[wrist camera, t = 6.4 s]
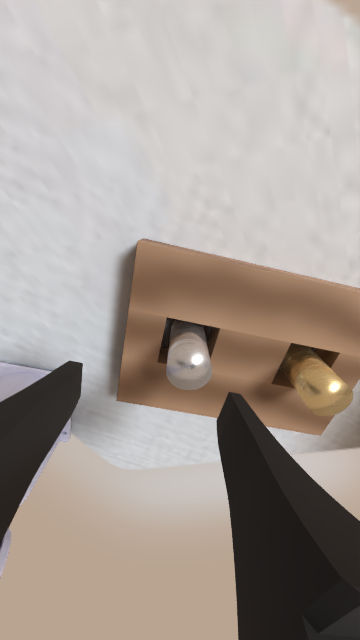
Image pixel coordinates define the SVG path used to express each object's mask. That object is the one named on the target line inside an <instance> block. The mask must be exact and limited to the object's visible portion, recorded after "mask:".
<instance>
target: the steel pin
mask: <svg viewBox="0 0 360 640" xmlns="http://www.w3.org/2000/svg"><path fill="white" fill-rule="evenodd" d="M166 374H167V378H168V380H169V381H170V382H171V383H172V384H173V385H174V386H175V387H177V388H179V389H183V390H196V389H199V388H201V387H203V386H204V385H206V384H207V383H208V382H209V380H210V378H211V376H212V366H211V361H210V356H209V351H208V346H207V341H206V336H205V332H204V327H203V325H202V324H197V323H193V322H188V321H183V320H178V319H176V320H175V321H174V323H173V324H172V326H171V332H170V342H169V351H168V360H167V369H166Z"/></svg>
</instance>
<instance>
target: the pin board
mask: <svg viewBox="0 0 360 640" xmlns="http://www.w3.org/2000/svg"><path fill="white" fill-rule="evenodd" d="M167 317H168V318H173V319H178V320H183V321H188V322H193V323H197V324H202V325H207V326H212V330H211V333H210V337H209V340H208V343H207V346H208V351H209V356H210V361H211V366H212V376H211V378H210V380H209V382H208V383H207V384H206V385H204V386H203V387H201V388H199V389H196V390H183V389H179V388H177V387H175V386H174V385H173V384H172V383H171V382H170V381H169V380H168V378H167V374H166V369H167V360H168V351H169V349H168V348H163V347H161V343H162V338H163V333H164V329H165V324H166V319H167ZM291 343H295V344H300V345H305V346H310V347H314V348H316V350H315V353H316V354H317V355H318V356H319V357H320V358H321V359H322V360H323V361H324V362H325V363H326V364H327V365H328V366H329V367H330V368H331V369H332V370H333V371H334V372H335V373H336V374H337V375H338V376H339V377H340V378H341V379H342V380H343V381H344V382H345V383H346V384H347V385H348V386H349V387H350V388H351V389H353V388H354V386H355V385H356V383H357V382H358V381H359V379H360V289H359V288H355V287H351V286H346V285H342V284H338V283H333V282H329V281H325V280H321V279H316V278H312V277H308V276H303V275H299V274H295V273H290V272H286V271H282V270H277V269H273V268H269V267H264V266H260V265H256V264H252V263H247V262H243V261H239V260H234V259H230V258H226V257H221V256H217V255H213V254H208V253H204V252H200V251H195V250H191V249H187V248H182V247H178V246H174V245H170V244H165V243H161V242H157V241H152V240H148V239H142V240H139V241H138V243H137V250H136V258H135V265H134V273H133V280H132V288H131V295H130V303H129V310H128V318H127V325H126V333H125V340H124V348H123V355H122V363H121V370H120V378H119V385H118V393H117V400H116V401H122V402H127V403H133V404H139V405H145V406H151V407H157V408H162V409H168V410H174V411H180V412H186V413H191V414H197V415H203V416H209V417H215V418H218V416H219V414H220V412H221V409H222V407H223V404H224V402H225V400H226V397H227V395H228V393H229V392H233V393H238V394H241V395H242V396H243V398H244V399H245V400H246V401H247V403H248V404H249V405H250V407H251V408H252V409H253V411H254V412H255V413H256V415H257V416H258V417H259V419H260V420H261V421H262V423H263V424H264V425H265V426H267V427H273V428H279V429H285V430H290V431H296V432H302V433H308V434H314V435H320V436H321V434H322V433H323V431H324V430H325V428H326V427H327V425H328V424H329V423H330V421H331V420H332V418H333V417H334V415H335V414H334V415H330V416H319V415H316V414H314V413H312V412H311V411H310V410H309V408H308V407H307V405H306V404H305V402H304V401H303V399H302V398H301V396H300V395H299V393H298V392H297V390H296V389H295V387H294V386H293V385H292V383H291V382H290V380H289V379H288V377H287V376H286V374H285V373H284V371H281V370H278V369H279V367H280V365H281V363H282V361H283V359H284V357H285V355H286V353H287V350H288V348H289V346H290V344H291Z"/></svg>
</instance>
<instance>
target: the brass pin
mask: <svg viewBox="0 0 360 640" xmlns="http://www.w3.org/2000/svg"><path fill="white" fill-rule="evenodd" d="M280 367H281V368H282V370H283V371H284V373H285V374H286V376H287V377H288V379H289V380H290V382H291V383H292V385H293V386H294V387H295V389H296V390H297V392H298V393H299V395H300V396H301V398H302V399H303V401H304V402H305V404H306V405H307V407H308V408H309V410H310V411H311V412H312V413H314V414H316V415H319V416H330V415H334V414H337V413H339V412H341V411H343V410H344V409H345V408H347V407H348V406H349V404H350V403H351V401H352V399H353V392H352V389H351V388H350V387H349V386H348V385H347V384H346V383H345V382H344V381H343V380H342V379H341V378H340V377H339V376H338V375H337V374H336V373H335V372H334V371H333V370H332V369H331V368H330V367H329V366H328V365H327V364H326V363H325V362H324V361H323V360H322V359H321V358H320V357H319V356H318V355H317V354H316V353H315V352H314V351H313V350H312V349H311V348H310V347H308V346H305V345H300V344H295V343H291V344H290V346H289V348H288V350H287V353H286V355H285V357H284V359H283V361H282V363H281V365H280Z"/></svg>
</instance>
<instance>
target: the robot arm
mask: <svg viewBox="0 0 360 640" xmlns="http://www.w3.org/2000/svg"><path fill="white" fill-rule="evenodd" d="M82 366H83V363H79V362H74V361H68V362H67V363H65V364H63V365H62V366H60V367H59V368H57V369H55V370H54V371H47V370H41V369H36V368H30V367H25V366H19V365H13V364H8V363H2V362H0V577H1V575H2V572H3V570H4V567H5V565H6V561H7V558H8V553H9V547H10V543H11V531H10V530H9V526H10V524H11V522H12V519H13V518H14V515H15V513H16V511H17V509H18V507H19V506H20V505H21V504H22V503H23V502H24V501H25V500H26V498H27V497H28V495H29V494H30V492H31V490H32V489H33V487H34V485H35V483H36V481H37V480H38V478H39V476H40V474H41V473H42V471H43V469H44V467H45V465H46V464H47V462H48V460H49V458H50V457H51V455H52V453H53V451H54V449H55V448H56V446H57V444H58V442H59V441H63V442H67V441H69V439H70V436H71V415H72V413H73V411H74V409H75V407H76V405H77V403H78V400H79V398H80V396H81V381H82ZM217 436H218V445H219V451H220V456H221V462H222V467H223V472H224V478H225V483H226V488H227V493H228V500H229V508H230V518H231V528H232V538H233V550H234V563H235V577H236V578H235V579H236V595H237V615H238V639H239V640H360V521H359V520H358V519H356V518H355V517H354V516H353V515H352V514H350V513H349V512H348V511H347V510H346V509H345V508H344V507H343V506H341V505H340V504H339V503H338V502H337V501H336V500H335V499H334V498H332V497H331V496H330V495H329V494H328V493H327V492H326V491H325V490H324V489H322V487H321V486H319V485H318V484H317V483H316V482H315V481H314V480H313V479H312V478H311V477H310V476H309V475H308V474H307V473H306V472H305V471H304V470H303V469H302V468H301V467H300V466H299V464H298V463H296V461H295V460H294V459H293V458H292V457H291V456H290V455H289V454H288V453H287V451H286V450H285V449H284V448H283V447H282V446H281V445H280V443H279V442H278V441H277V440H276V439H275V437H274V436H273V435H272V434H271V433H270V431H269V430H268V429H267V428H266V426H265V425H264V424H263V423H262V421H261V420H260V419H259V417H258V416H257V415H256V413H255V412H254V411H253V409H252V408H251V407H250V405H249V404H248V403H247V401H246V400H245V399H244V398H243V396H242V395H241V394H238V393H233V392H229V393H228V395H227V397H226V400H225V402H224V404H223V407H222V409H221V412H220V414H219V416H218V419H217Z"/></svg>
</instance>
